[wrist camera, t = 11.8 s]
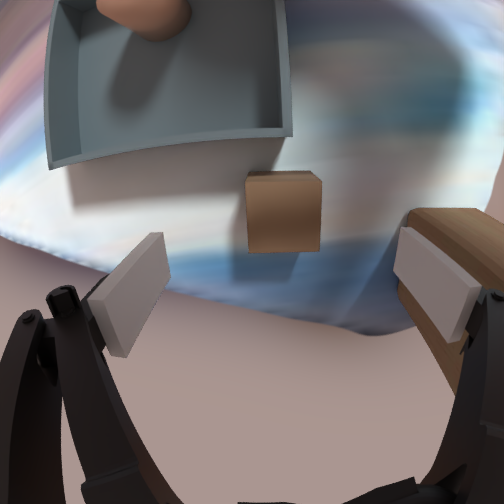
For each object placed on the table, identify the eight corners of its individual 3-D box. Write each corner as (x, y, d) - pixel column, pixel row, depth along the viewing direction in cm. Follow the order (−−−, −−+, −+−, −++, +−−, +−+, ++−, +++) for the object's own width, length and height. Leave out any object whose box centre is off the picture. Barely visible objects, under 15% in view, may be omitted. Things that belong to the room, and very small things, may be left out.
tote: (82, 11, 14) (54, -1, 9) (274, -32, 13) (276, -61, 8) (81, 160, 21) (48, 170, 17) (286, 136, 20) (292, 137, 16)
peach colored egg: (138, 4, 14) (101, -25, 8) (192, -9, 14) (168, -47, 8) (135, 47, 16) (92, 26, 10) (191, 35, 16) (162, 2, 10)
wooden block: (459, 285, 25) (548, 405, 7) (392, 295, 26) (475, 459, 8) (475, 205, 21) (610, 305, 3) (404, 204, 22) (569, 350, 4)
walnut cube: (248, 171, 22) (244, 182, 17) (309, 170, 21) (321, 181, 17) (251, 228, 24) (248, 253, 19) (309, 227, 24) (319, 251, 19)
